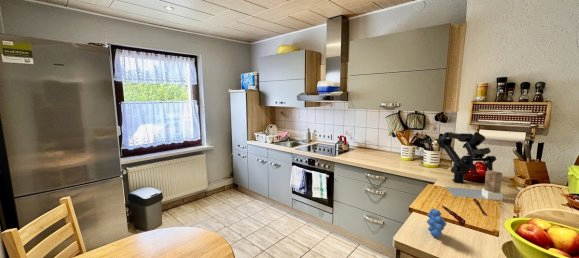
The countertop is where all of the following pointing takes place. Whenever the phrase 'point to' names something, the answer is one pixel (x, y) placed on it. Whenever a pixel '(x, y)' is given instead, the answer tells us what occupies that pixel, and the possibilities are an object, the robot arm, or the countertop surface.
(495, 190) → the walnut pillar
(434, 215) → the grapes
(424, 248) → the countertop surface
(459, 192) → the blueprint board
